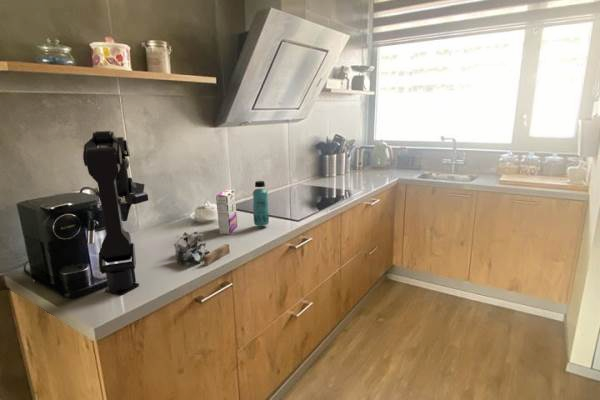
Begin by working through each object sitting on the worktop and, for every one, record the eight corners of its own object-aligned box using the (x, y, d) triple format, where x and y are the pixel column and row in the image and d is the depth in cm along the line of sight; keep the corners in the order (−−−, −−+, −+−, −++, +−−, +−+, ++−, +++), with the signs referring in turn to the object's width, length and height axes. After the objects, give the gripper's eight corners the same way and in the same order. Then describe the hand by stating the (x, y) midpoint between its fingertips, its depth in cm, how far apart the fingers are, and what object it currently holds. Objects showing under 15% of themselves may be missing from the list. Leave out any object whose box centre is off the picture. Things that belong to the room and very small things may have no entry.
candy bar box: (226, 226, 157) (223, 189, 153) (237, 226, 157) (235, 189, 153) (218, 234, 146) (215, 195, 142) (230, 234, 146) (227, 195, 142)
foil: (159, 255, 117) (184, 220, 126) (176, 274, 124) (198, 240, 134) (186, 259, 112) (209, 223, 121) (202, 278, 119) (223, 242, 128)
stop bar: (207, 265, 116) (207, 256, 115) (204, 264, 117) (203, 256, 116) (229, 252, 127) (229, 244, 126) (226, 252, 127) (225, 244, 126)
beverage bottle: (251, 226, 156) (249, 180, 152) (266, 223, 159) (264, 179, 155) (257, 230, 151) (254, 183, 146) (271, 227, 154) (269, 181, 149)
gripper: (158, 173, 122) (163, 217, 125) (119, 170, 129) (125, 212, 133) (130, 178, 112) (137, 226, 115) (90, 175, 119) (98, 220, 123)
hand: (124, 221), depth 122 cm, fingers closed
